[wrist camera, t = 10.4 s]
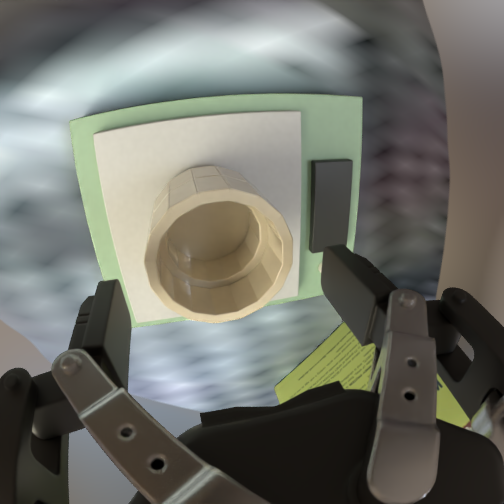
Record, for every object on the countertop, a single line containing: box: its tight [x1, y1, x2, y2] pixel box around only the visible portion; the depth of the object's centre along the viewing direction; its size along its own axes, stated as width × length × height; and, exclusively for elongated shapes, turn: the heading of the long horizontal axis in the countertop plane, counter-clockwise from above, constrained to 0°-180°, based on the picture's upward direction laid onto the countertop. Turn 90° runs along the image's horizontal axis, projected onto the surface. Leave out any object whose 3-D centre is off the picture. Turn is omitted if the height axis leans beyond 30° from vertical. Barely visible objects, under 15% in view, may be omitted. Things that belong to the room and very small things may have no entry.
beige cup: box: [144, 166, 293, 323], centre depth 15 cm, size 6×6×5 cm
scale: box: [69, 93, 362, 328], centre depth 19 cm, size 14×17×3 cm
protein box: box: [274, 322, 472, 431], centre depth 24 cm, size 10×15×16 cm
